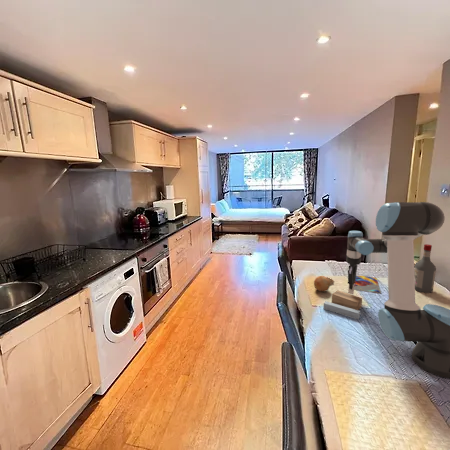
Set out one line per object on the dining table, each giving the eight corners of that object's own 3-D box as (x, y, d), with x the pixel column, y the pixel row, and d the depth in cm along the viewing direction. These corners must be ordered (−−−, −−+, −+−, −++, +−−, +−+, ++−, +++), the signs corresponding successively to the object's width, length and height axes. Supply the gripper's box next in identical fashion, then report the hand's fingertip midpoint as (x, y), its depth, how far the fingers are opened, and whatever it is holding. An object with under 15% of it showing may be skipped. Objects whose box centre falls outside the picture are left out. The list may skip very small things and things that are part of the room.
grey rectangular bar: (358, 319, 129) (358, 313, 128) (323, 308, 140) (323, 303, 140) (359, 317, 131) (360, 311, 131) (325, 306, 143) (325, 301, 142)
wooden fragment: (325, 292, 161) (325, 290, 160) (309, 287, 168) (309, 286, 168) (339, 279, 179) (339, 278, 179) (323, 276, 187) (323, 274, 186)
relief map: (381, 294, 156) (381, 291, 156) (354, 290, 162) (354, 287, 162) (376, 279, 178) (376, 276, 178) (352, 276, 185) (352, 273, 184)
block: (356, 312, 136) (356, 302, 135) (331, 303, 147) (332, 293, 146) (361, 307, 141) (362, 298, 139) (337, 299, 151) (337, 290, 150)
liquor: (417, 292, 156) (423, 246, 150) (410, 286, 165) (415, 242, 159) (434, 293, 154) (441, 247, 148) (426, 287, 162) (432, 243, 157)
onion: (327, 295, 156) (327, 280, 154) (311, 291, 162) (312, 277, 160) (331, 289, 163) (332, 275, 161) (316, 286, 169) (316, 272, 167)
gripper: (358, 261, 139) (355, 299, 143) (363, 254, 148) (360, 291, 153) (343, 258, 144) (341, 295, 148) (349, 252, 153) (347, 287, 158)
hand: (350, 293), depth 151 cm, fingers closed
